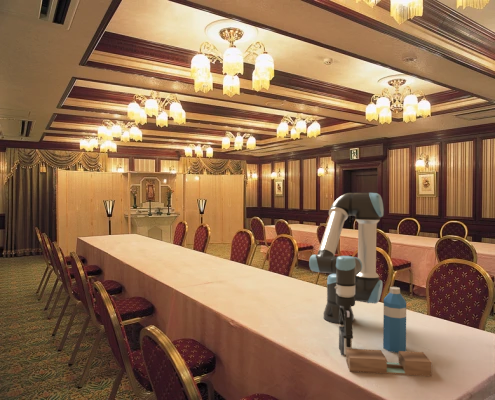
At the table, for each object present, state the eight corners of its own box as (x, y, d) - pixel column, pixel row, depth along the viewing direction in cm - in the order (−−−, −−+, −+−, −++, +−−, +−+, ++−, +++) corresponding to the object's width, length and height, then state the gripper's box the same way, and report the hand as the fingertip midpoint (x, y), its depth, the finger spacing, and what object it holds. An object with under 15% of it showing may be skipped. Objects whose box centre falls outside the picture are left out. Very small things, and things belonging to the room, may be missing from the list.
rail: (346, 361, 138) (346, 348, 138) (422, 365, 135) (423, 352, 135) (349, 371, 130) (349, 357, 130) (431, 376, 127) (431, 362, 127)
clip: (338, 348, 150) (339, 326, 150) (348, 348, 150) (348, 326, 150) (341, 354, 144) (341, 332, 144) (351, 355, 143) (351, 332, 143)
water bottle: (400, 343, 155) (400, 285, 155) (410, 352, 146) (411, 291, 146) (378, 343, 155) (379, 285, 155) (388, 353, 146) (388, 291, 145)
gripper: (332, 286, 159) (331, 334, 159) (340, 303, 134) (340, 360, 135) (349, 287, 158) (349, 335, 159) (361, 304, 134) (360, 361, 134)
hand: (345, 347), depth 147 cm, fingers open, 13 cm apart
